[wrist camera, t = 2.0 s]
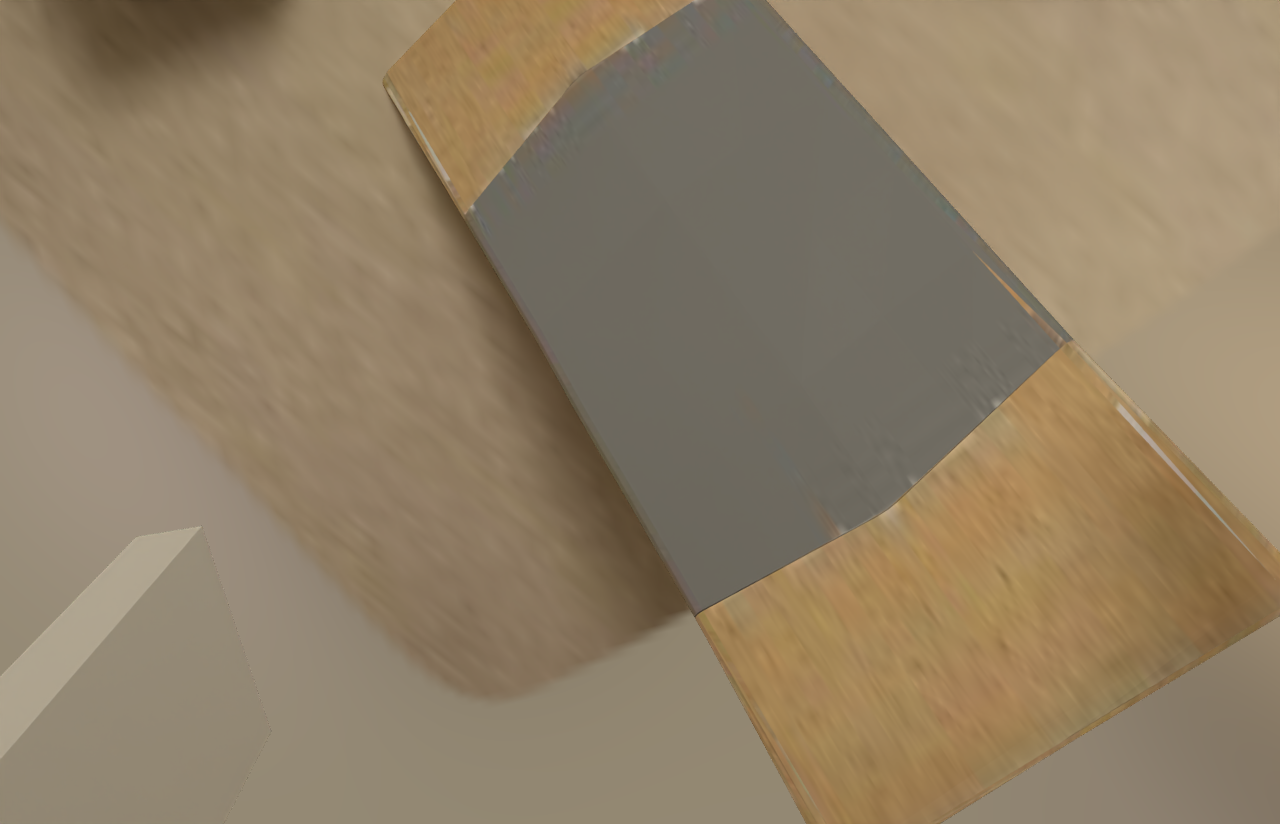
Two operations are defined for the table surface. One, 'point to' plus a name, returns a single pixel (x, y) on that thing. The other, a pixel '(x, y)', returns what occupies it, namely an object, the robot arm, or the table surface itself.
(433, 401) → the table surface
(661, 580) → the table surface
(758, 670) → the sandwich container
